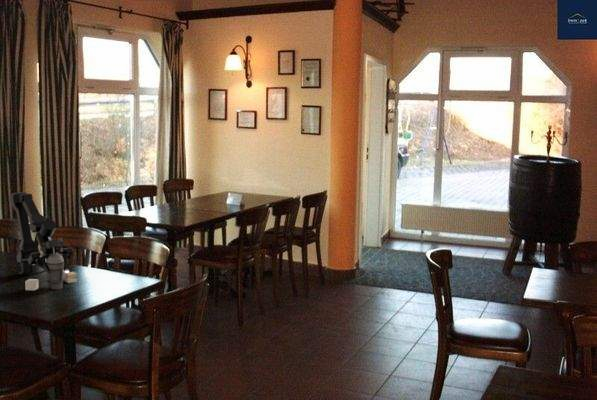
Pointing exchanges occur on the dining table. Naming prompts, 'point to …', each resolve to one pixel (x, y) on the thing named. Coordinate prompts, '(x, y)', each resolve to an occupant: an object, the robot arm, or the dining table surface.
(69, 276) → the birch block
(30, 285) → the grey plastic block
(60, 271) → the beverage cup
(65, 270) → the metal tin
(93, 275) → the dining table surface
